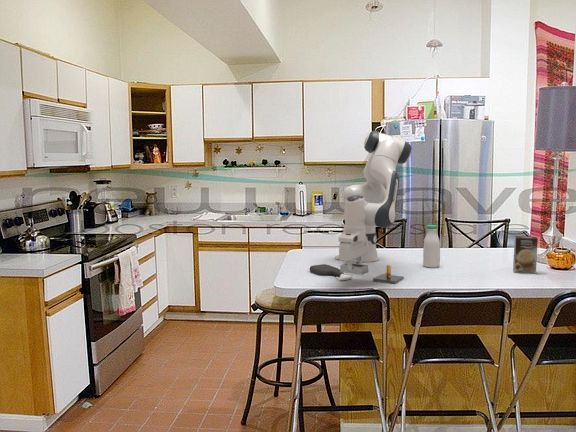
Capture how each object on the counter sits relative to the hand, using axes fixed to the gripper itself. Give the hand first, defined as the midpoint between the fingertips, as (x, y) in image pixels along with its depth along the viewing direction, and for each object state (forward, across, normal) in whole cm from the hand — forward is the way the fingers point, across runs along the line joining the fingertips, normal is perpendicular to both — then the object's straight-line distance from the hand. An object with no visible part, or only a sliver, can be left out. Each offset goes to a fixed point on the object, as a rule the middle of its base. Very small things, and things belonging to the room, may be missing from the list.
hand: (354, 268), depth 215 cm
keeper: (+7, -13, +10) cm, 18 cm away
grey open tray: (+2, 0, 0) cm, 2 cm away
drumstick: (+8, -10, -16) cm, 20 cm away
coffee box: (+7, -59, +56) cm, 82 cm away
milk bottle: (+7, -50, +16) cm, 53 cm away
